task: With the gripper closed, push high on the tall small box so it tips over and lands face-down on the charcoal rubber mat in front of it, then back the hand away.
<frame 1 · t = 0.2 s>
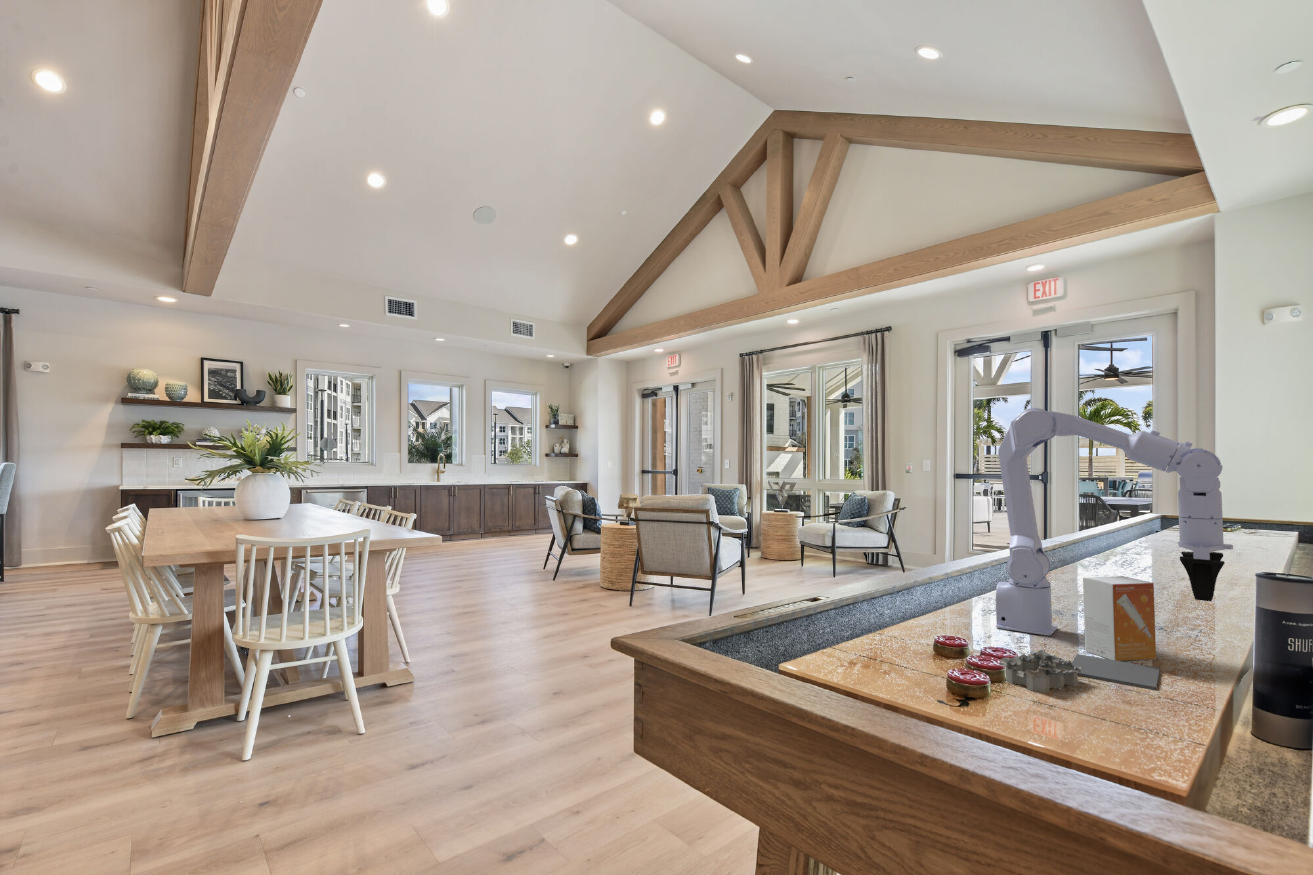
hand: (1203, 596, 106), 10 cm above the table, tool pointing down, fingers open, 7 cm apart
small box: (1120, 656, 106), on the table
mat: (1113, 671, 97), on the table
egg carton: (1040, 683, 94), on the table
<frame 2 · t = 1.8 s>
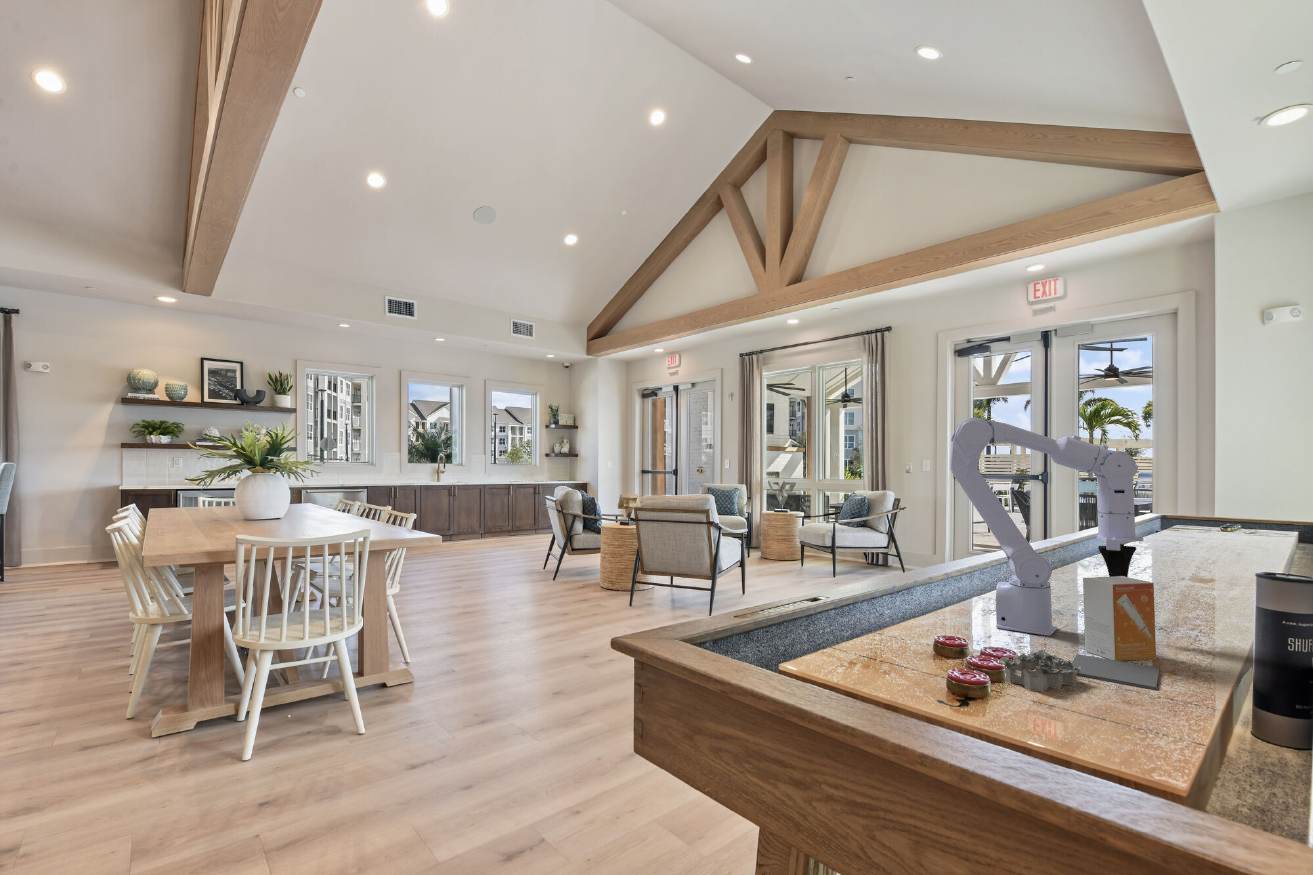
hand: (1118, 584, 117), 10 cm above the table, tool pointing down, fingers closed
nothing on the table moved.
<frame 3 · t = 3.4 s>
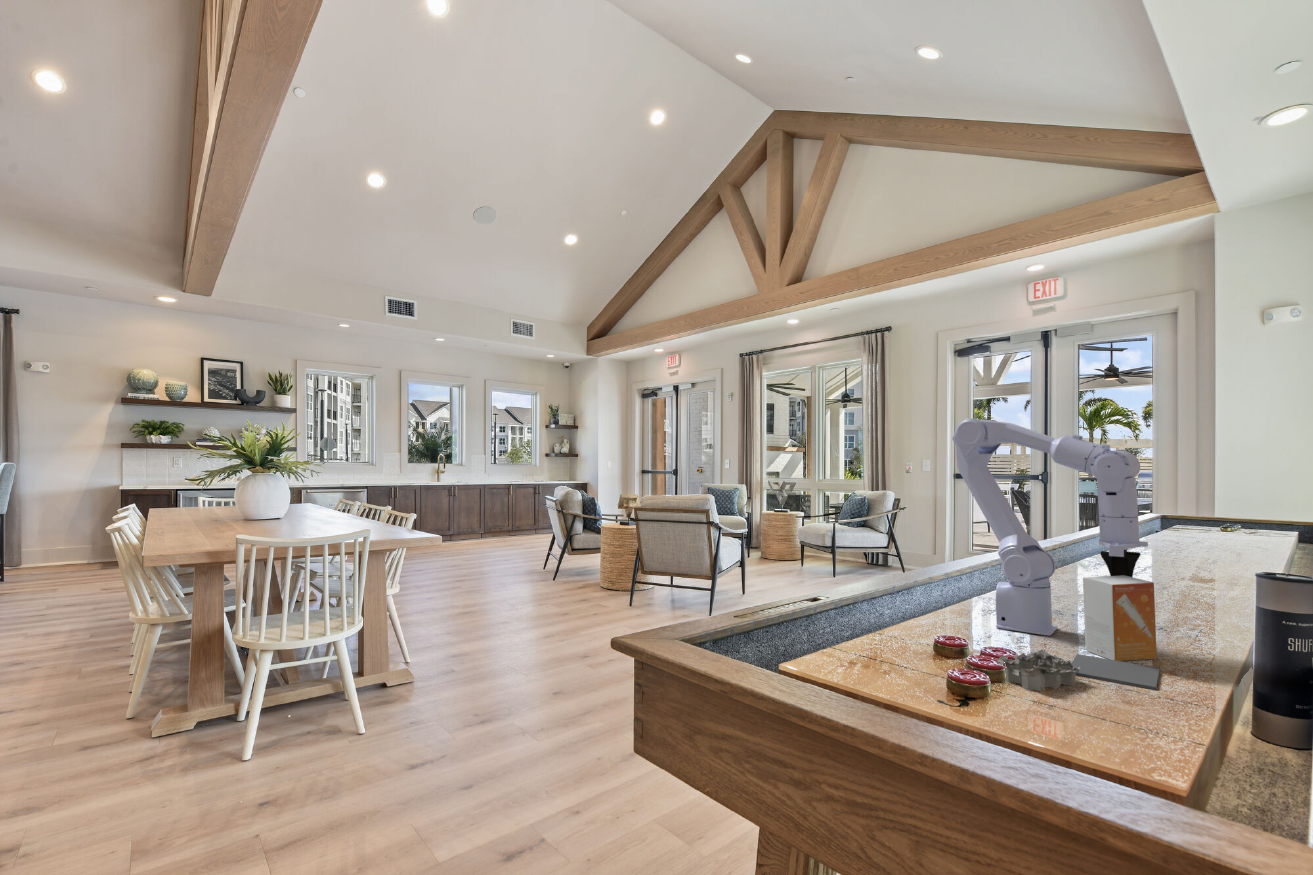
hand: (1122, 592, 110), 10 cm above the table, tool pointing down, fingers closed, pressing on small box
small box: (1120, 655, 105), on the table, touching gripper
everything else where it was.
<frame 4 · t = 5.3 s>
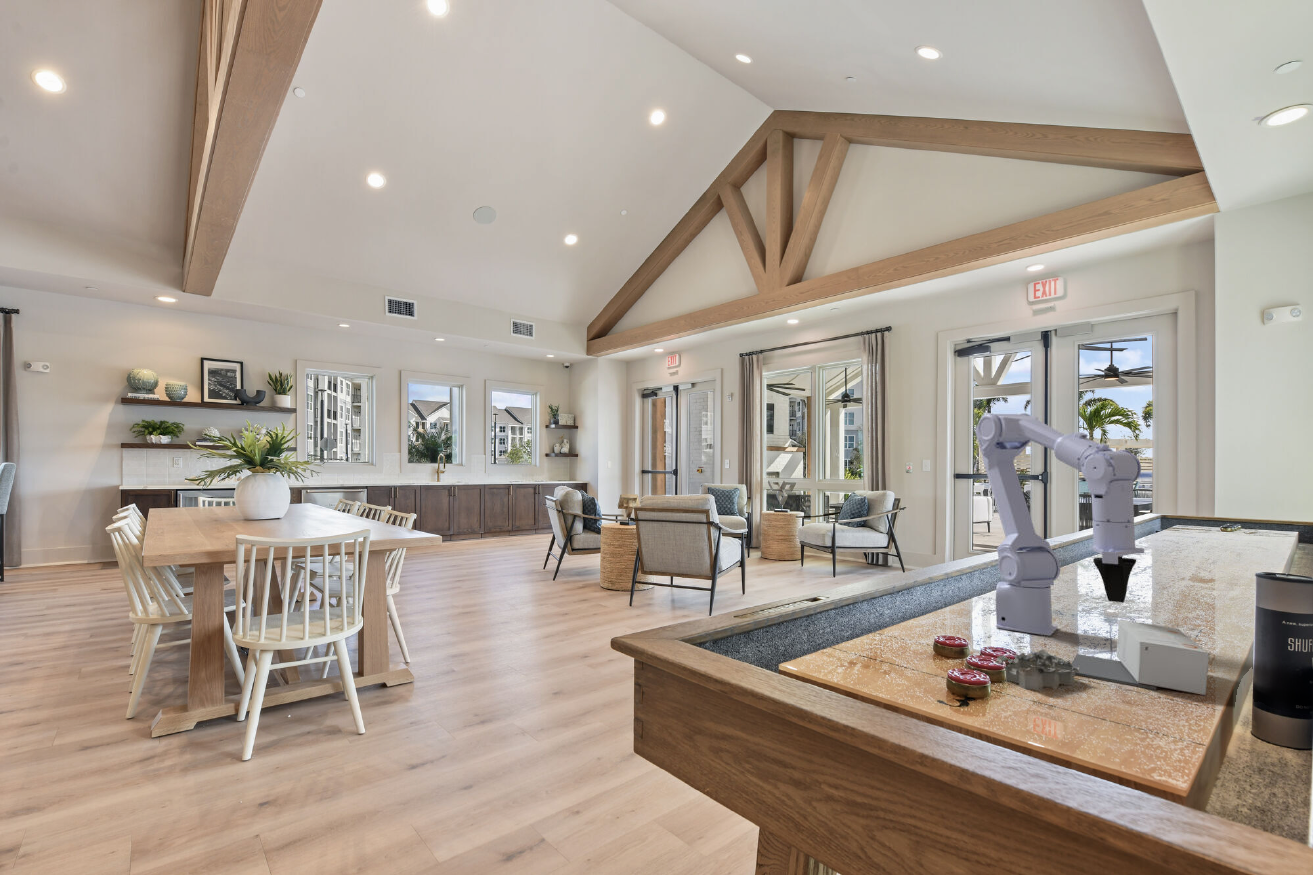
hand: (1116, 601, 104), 10 cm above the table, tool pointing down, fingers closed
small box: (1146, 642, 101), point 4 cm above the table, touching mat
everything else where it was.
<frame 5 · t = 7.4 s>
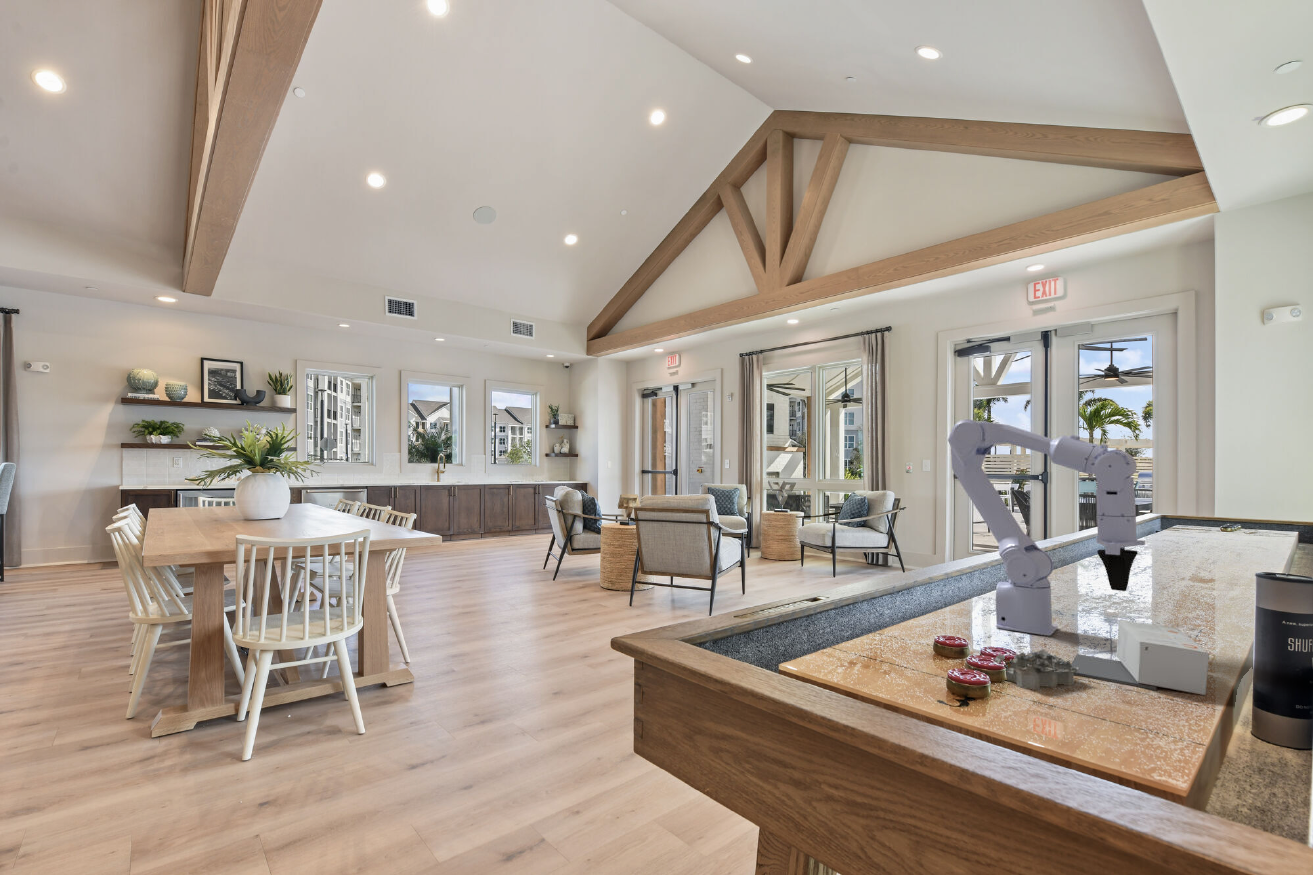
hand: (1118, 589, 112), 10 cm above the table, tool pointing down, fingers closed
nothing on the table moved.
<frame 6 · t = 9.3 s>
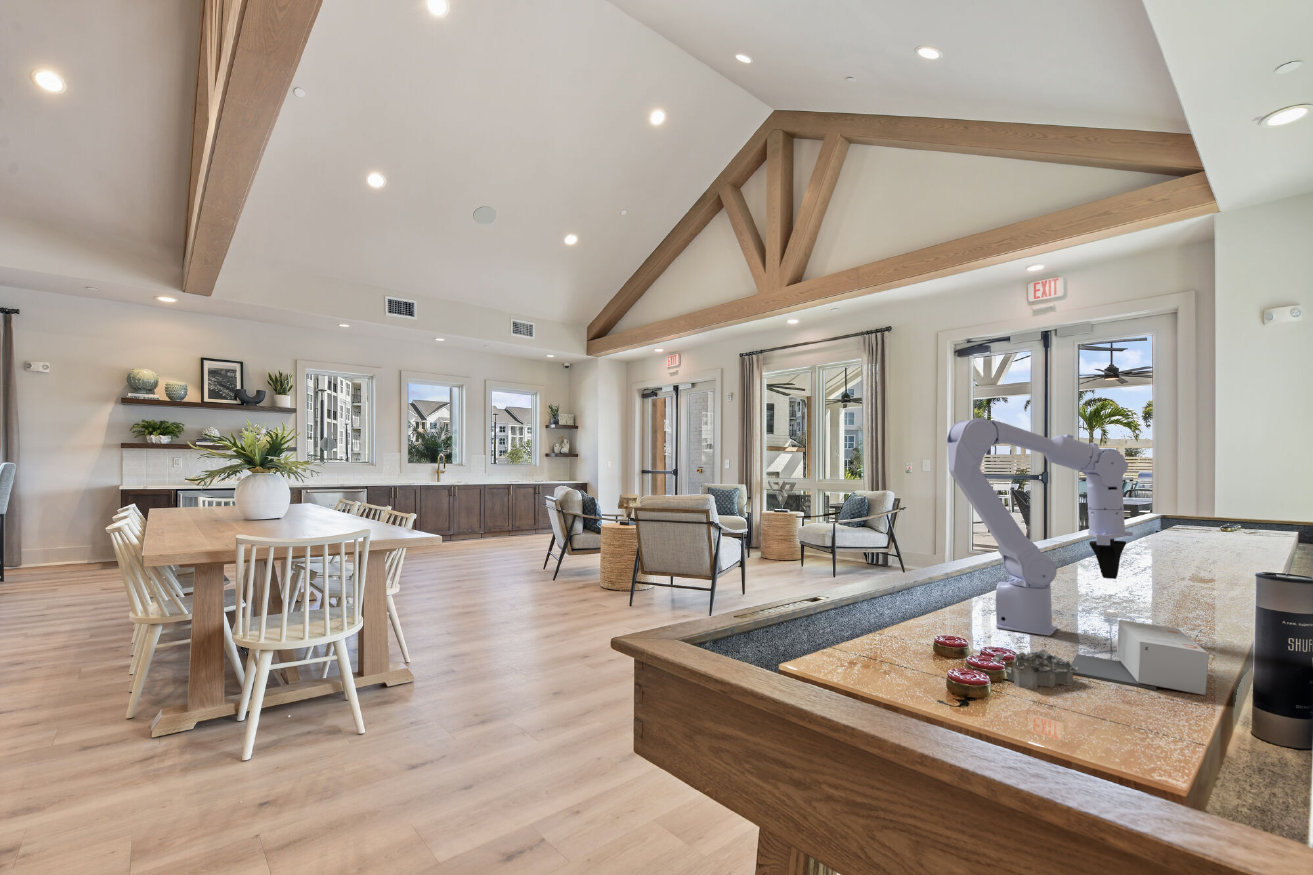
hand: (1109, 577, 121), 10 cm above the table, tool pointing down, fingers closed
nothing on the table moved.
at the end: small box tilted 91°; small box inside the target area (9.6 cm from its centre), point 3.6 cm above the table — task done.
